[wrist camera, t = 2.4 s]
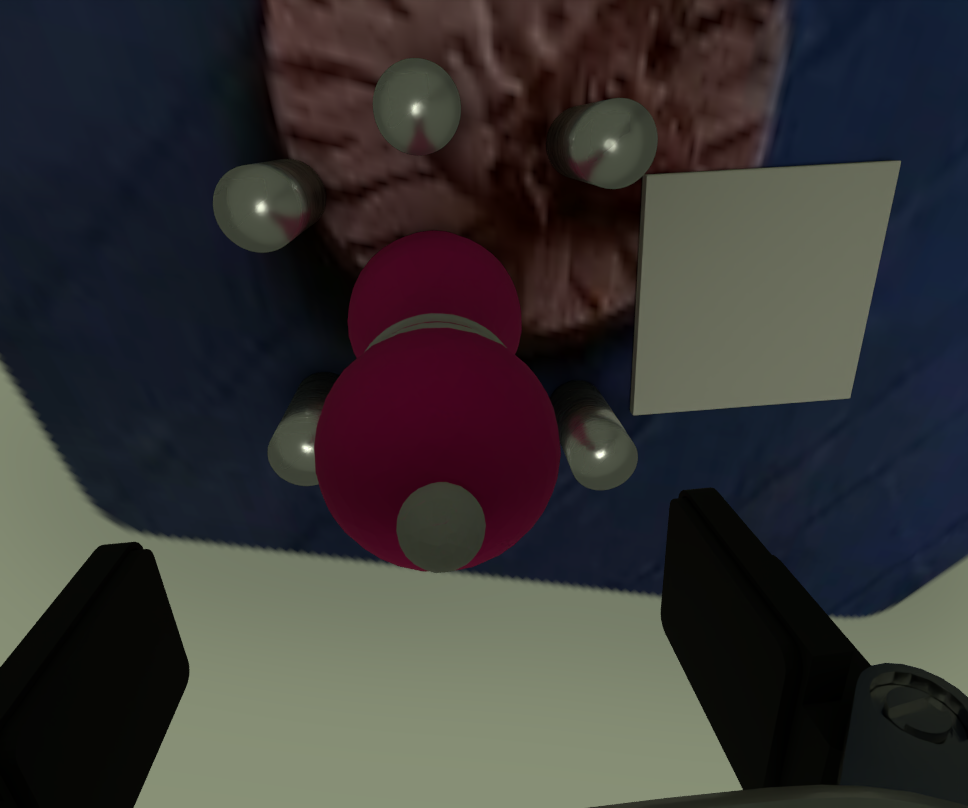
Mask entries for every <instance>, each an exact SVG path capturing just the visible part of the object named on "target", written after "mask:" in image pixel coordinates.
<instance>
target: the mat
mask: <svg viewBox="0 0 968 808" xmlns="http://www.w3.org/2000/svg"><path fill="white" fill-rule="evenodd" d="M900 164H901V161H875V162H858V163H840V164H823V165H805V166H788V167H771V168H753V169H736V170H718V171H701V172H684V173H666V174H649V175H643V181H642V199H641V217H640V235H639V254H638V272H637V290H636V308H635V327H634V345H633V363H632V381H631V400H630V412H631V413H632V414H633V415H644V414H657V413H670V412H682V411H695V410H708V409H720V408H733V407H745V406H758V405H771V404H783V403H796V402H809V401H821V400H834V399H847V398H850V396H851V391H852V387H853V382H854V378H855V373H856V368H857V364H858V359H859V354H860V350H861V345H862V340H863V336H864V331H865V327H866V322H867V317H868V313H869V308H870V303H871V299H872V294H873V289H874V285H875V280H876V276H877V271H878V266H879V262H880V257H881V252H882V248H883V243H884V239H885V234H886V229H887V225H888V220H889V215H890V211H891V206H892V201H893V197H894V192H895V188H896V183H897V178H898V174H899V169H900Z"/></svg>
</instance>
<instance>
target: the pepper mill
mask: <svg viewBox="0 0 968 808" xmlns="http://www.w3.org/2000/svg"><path fill="white" fill-rule="evenodd" d="M348 329H349V338H350V341H351V344H352V348H353V351H354V354H355V355H356V357H357V359H356V360H355V361H354V362H352V363H351V364H350V365H349V366H348V367H347V368H345V369H344V371H343V372H342V373H341V375H340V376H339V378H338V379H337V380H336V382H335V383H334V385H333V387H332V388H331V390H330V392H329V394H328V395H327V397H326V399H325V402H324V405H323V408H322V411H321V415H320V418H319V421H318V424H317V428H316V436H315V444H314V454H315V471H316V475H317V479H318V482H319V486H320V489H321V492H322V495H323V497H324V500H325V502H326V505H327V507H328V508H329V510H330V512H331V514H332V516H333V517H334V519H335V520H336V521H337V522H338V524H339V525H340V526H341V527H342V529H343V530H344V531H345V532H346V533H347V534H348V535H349V536H350V537H351V538H353V539H354V540H355V541H356V542H357V543H358V544H360V545H361V546H362V547H363V548H364V549H366V550H368V551H369V552H371V553H373V554H374V555H376V556H377V557H379V558H381V559H383V560H385V561H388V562H390V563H392V564H395V565H397V566H400V567H405V568H410V569H414V570H419V571H431V572H434V573H441V572H450V571H455V570H459V569H464V568H468V567H473V566H476V565H478V564H480V563H483V562H485V561H487V560H489V559H492V558H494V557H496V556H498V555H500V554H502V553H503V552H504V551H506V550H507V549H509V548H510V547H512V546H513V545H514V544H515V543H517V542H518V541H519V540H520V539H521V538H522V537H523V536H524V535H525V534H526V533H527V532H528V531H529V530H530V529H531V528H532V527H533V526H534V524H535V523H536V521H537V520H538V519H539V517H540V516H541V514H542V513H543V511H544V510H545V508H546V506H547V503H548V501H549V499H550V497H551V495H552V492H553V489H554V486H555V484H556V481H557V476H558V469H559V462H560V455H561V452H560V441H559V432H558V426H557V421H556V417H555V412H554V408H553V406H552V404H551V401H550V399H549V397H548V394H547V392H546V391H545V389H544V388H543V386H542V384H541V383H540V381H539V380H538V378H537V377H536V375H535V374H534V373H533V372H532V371H531V369H530V368H529V367H528V366H527V365H526V364H525V363H524V362H523V361H522V360H520V359H519V358H518V357H517V356H516V355H515V353H516V351H517V348H518V346H519V341H520V336H521V331H522V328H521V308H520V303H519V299H518V295H517V292H516V288H515V286H514V284H513V281H512V279H511V277H510V275H509V274H508V272H507V271H506V269H505V268H504V266H503V265H502V264H501V263H500V261H499V260H498V259H497V258H496V257H495V256H494V255H493V254H492V253H490V252H489V251H488V250H486V249H485V248H484V247H482V246H481V245H479V244H477V243H475V242H474V241H472V240H470V239H467V238H464V237H461V236H459V235H456V234H453V233H450V232H446V231H434V230H431V231H423V232H417V233H414V234H411V235H408V236H405V237H403V238H400V239H398V240H396V241H394V242H392V243H390V244H389V245H387V246H386V247H384V248H382V249H381V250H380V251H379V252H378V253H377V254H376V255H374V256H373V257H372V258H371V259H370V261H369V262H368V263H367V264H366V266H365V267H364V268H363V270H362V271H361V272H360V274H359V277H358V279H357V281H356V283H355V285H354V287H353V291H352V295H351V299H350V304H349V313H348Z"/></svg>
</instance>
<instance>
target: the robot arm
mask: <svg viewBox="0 0 968 808" xmlns="http://www.w3.org/2000/svg"><path fill="white" fill-rule="evenodd" d="M661 621H662V625H663V629H664V631H665V634H666V636H667V638H668V640H669V642H670V644H671V646H672V648H673V650H674V652H675V654H676V656H677V658H678V660H679V662H680V664H681V666H682V668H683V670H684V672H685V674H686V676H687V678H688V680H689V682H690V684H691V686H692V688H693V690H694V692H695V694H696V696H697V698H698V700H699V702H700V704H701V706H702V708H703V710H704V712H705V714H706V716H707V718H708V720H709V722H710V724H711V726H712V728H713V730H714V732H715V734H716V736H717V738H718V740H719V742H720V744H721V746H722V748H723V750H724V752H725V754H726V756H727V758H728V760H729V762H730V764H731V766H732V768H733V770H734V772H735V774H736V776H737V778H738V780H739V782H740V784H741V786H742V788H743V790H740V791H731V792H720V793H711V794H701V795H692V796H682V797H673V798H664V799H655V800H647V801H639V802H631V803H623V804H615V805H606V806H598V807H590V808H968V697H967V696H966V695H964V694H963V693H962V692H961V691H960V690H959V689H958V688H956V687H955V686H953V685H951V684H950V683H948V682H947V681H945V680H944V679H942V678H940V677H938V676H935V675H933V674H931V673H929V672H926V671H924V670H922V669H919V668H915V667H911V666H907V665H904V664H892V663H883V664H878V665H873V666H871V665H870V664H869V663H868V661H867V660H866V659H865V658H864V657H863V656H862V655H861V654H860V652H859V651H858V650H857V649H856V648H855V646H854V645H853V644H852V643H851V642H850V641H849V639H848V638H847V637H846V636H845V635H844V634H843V633H842V632H841V630H840V629H839V628H838V627H837V626H836V624H835V623H834V622H833V621H832V620H831V619H830V617H829V616H828V615H827V614H826V613H825V612H824V610H823V609H822V608H821V607H820V606H819V605H818V604H817V602H816V601H815V600H814V599H813V598H812V597H811V595H810V594H809V593H808V592H807V591H806V590H805V588H804V587H803V586H802V585H801V584H800V583H799V581H798V580H797V579H796V578H795V577H794V576H793V575H792V573H791V572H790V571H789V570H788V569H787V568H786V566H785V565H784V564H783V563H782V562H781V561H780V560H779V559H778V558H777V557H776V556H774V555H771V553H770V552H769V551H768V550H767V549H766V548H765V546H764V545H763V544H762V543H761V542H760V541H759V539H758V538H757V537H756V536H755V535H754V534H753V532H752V531H751V530H750V529H749V528H748V527H747V525H746V524H745V523H744V522H743V521H742V519H741V518H740V517H739V516H738V515H737V514H736V512H735V511H734V510H733V509H732V508H731V507H730V505H729V504H728V503H727V502H726V501H725V500H724V498H723V497H722V496H721V495H720V494H719V493H718V491H717V490H715V489H714V488H701V489H691V490H683V491H681V492H680V494H679V498H678V499H673V500H671V502H670V508H669V520H668V532H667V543H666V555H665V567H664V579H663V591H662V602H661ZM188 678H189V663H188V659H187V656H186V653H185V650H184V647H183V644H182V641H181V638H180V634H179V631H178V628H177V625H176V622H175V619H174V616H173V613H172V610H171V607H170V604H169V601H168V598H167V594H166V591H165V588H164V585H163V582H162V579H161V576H160V573H159V570H158V567H157V564H156V560H155V557H154V555H153V553H152V552H151V550H149V549H143V547H142V546H141V545H140V544H139V543H137V542H128V543H118V544H108V545H101V546H99V547H98V548H97V549H96V550H95V551H94V552H93V553H92V554H91V556H90V557H89V558H88V559H87V561H86V562H85V563H84V564H83V566H82V567H81V568H80V569H79V571H78V572H77V573H76V574H75V575H74V577H73V578H72V579H71V580H70V582H69V583H68V584H67V585H66V587H65V588H64V589H63V590H62V592H61V593H60V594H59V595H58V597H57V598H56V599H55V600H54V602H53V603H52V604H51V605H50V607H49V608H48V609H47V610H46V612H45V613H44V614H43V615H42V616H41V618H40V619H39V620H38V621H37V622H36V624H35V625H34V626H33V628H32V629H31V630H30V631H29V632H28V634H27V635H26V636H25V637H24V639H23V640H22V641H21V642H20V644H19V645H18V646H17V647H16V648H15V650H14V651H13V652H12V653H11V655H10V656H9V657H8V658H7V660H6V661H5V662H4V663H3V665H2V666H1V667H0V808H133V807H134V805H135V803H136V801H137V798H138V796H139V794H140V792H141V789H142V787H143V785H144V782H145V780H146V778H147V776H148V773H149V771H150V768H151V766H152V764H153V762H154V759H155V757H156V755H157V753H158V750H159V748H160V746H161V743H162V741H163V739H164V737H165V734H166V732H167V729H168V727H169V725H170V723H171V720H172V718H173V716H174V714H175V711H176V709H177V707H178V704H179V702H180V700H181V697H182V695H183V693H184V690H185V688H186V686H187V683H188Z"/></svg>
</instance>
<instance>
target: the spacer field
mask: <svg viewBox="0 0 968 808" xmlns="http://www.w3.org/2000/svg"><path fill="white" fill-rule="evenodd" d="M373 112H374V118H375V121H376V124H377V126H378V129H379V130H380V132H381V134H382V135H383V137H384V138H385V139H386V140H387V141H388V142H389V143H390V144H391V145H392V146H393V147H395V148H396V149H398V150H399V151H402V152H404V153H407V154H410V155H428V154H431V153H434V152H436V151H438V150H440V149H441V148H443V147H444V146H445V145H446V144H447V143H448V142H449V141H450V140H451V139H452V137H453V136H454V134H455V132H456V130H457V128H458V125H459V121H460V115H461V103H460V97H459V93H458V90H457V87H456V85H455V84H454V82H453V80H452V79H451V77H450V76H449V75H448V73H447V72H446V71H445V70H444V69H442V68H441V67H440V66H438V65H437V64H435V63H433V62H431V61H429V60H426V59H420V58H409V59H404V60H401V61H399V62H397V63H395V64H393V65H392V66H390V67H389V68H388V69H387V70H386V71H385V72H384V73H383V75H382V76H381V78H380V79H379V81H378V83H377V85H376V88H375V91H374V96H373ZM657 141H658V136H657V129H656V125H655V123H654V120H653V118H652V116H651V115H650V113H649V112H648V111H647V110H646V109H645V108H644V107H643V106H642V105H641V104H639V103H637V102H635V101H633V100H630V99H626V98H614V99H609V100H604V101H599V102H594V103H589V104H584V105H580V106H575V107H571V108H569V109H567V110H565V111H563V112H562V113H561V114H559V115H558V116H557V117H556V119H555V120H554V121H553V123H552V124H551V126H550V128H549V131H548V134H547V139H546V150H547V155H548V158H549V160H550V162H551V164H552V166H553V167H554V168H555V169H556V170H557V171H558V172H559V173H561V174H562V175H564V176H566V177H569V178H573V179H576V180H579V181H583V182H586V183H589V184H593V185H596V186H599V187H603V188H607V189H618V188H623V187H626V186H629V185H631V184H632V183H634V182H636V181H637V180H638V179H640V178H641V177H642V176H643V175H644V174H645V173H646V171H647V170H648V169H649V167H650V165H651V164H652V162H653V159H654V157H655V154H656V150H657ZM325 205H326V192H325V188H324V185H323V182H322V180H321V179H320V177H319V175H318V174H317V173H316V172H315V171H314V170H313V169H312V168H311V167H310V166H308V165H307V164H305V163H303V162H301V161H298V160H294V159H281V160H275V161H268V162H262V163H256V164H249V165H243V166H239V167H236V168H234V169H232V170H230V171H229V172H227V173H226V174H225V175H224V176H223V177H222V178H221V179H220V181H219V182H218V184H217V186H216V189H215V192H214V196H213V209H214V214H215V218H216V220H217V222H218V225H219V226H220V228H221V230H222V231H223V232H224V234H225V235H226V236H227V237H228V238H229V239H230V240H231V241H232V242H234V243H235V244H237V245H238V246H240V247H242V248H244V249H246V250H249V251H253V252H271V251H275V250H278V249H280V248H282V247H283V246H285V245H286V244H288V243H289V242H290V241H292V240H293V239H294V238H296V237H297V236H298V235H300V234H301V233H302V232H304V231H305V230H306V229H308V228H309V227H310V226H312V225H313V224H314V223H315V222H317V220H318V219H319V218H320V217H321V215H322V213H323V211H324V209H325ZM338 378H339V375H336V374H333V373H328V372H320V373H315V374H312V375H310V376H308V377H307V378H306V379H304V380H303V381H302V383H301V384H300V386H299V387H298V389H297V391H296V393H295V395H294V397H293V399H292V401H291V403H290V405H289V406H288V408H287V410H286V412H285V414H284V416H283V418H282V420H281V422H280V424H279V425H278V427H277V429H276V431H275V433H274V435H273V437H272V439H271V441H270V443H269V446H268V459H269V462H270V465H271V467H272V468H273V470H274V471H275V472H276V473H277V474H278V475H279V476H280V477H281V478H283V479H284V480H286V481H288V482H290V483H293V484H296V485H301V486H312V485H317V484H319V482H318V479H317V475H316V471H315V454H314V444H315V436H316V428H317V424H318V421H319V418H320V415H321V411H322V408H323V405H324V402H325V399H326V397H327V395H328V394H329V392H330V390H331V388H332V387H333V385H334V383H335V382H336V380H337V379H338ZM550 401H551V404H552V406H553V408H554V412H555V417H556V421H557V426H558V432H559V441H560V443H561V446H562V448H563V451H564V453H565V455H566V458H567V460H568V462H569V465H570V467H571V470H572V472H573V474H574V476H575V478H576V479H577V481H578V482H579V483H581V484H582V485H583V486H585V487H587V488H590V489H594V490H607V489H611V488H614V487H617V486H619V485H620V484H622V483H624V482H625V481H626V480H627V479H628V478H629V477H630V476H631V475H632V473H633V472H634V470H635V468H636V465H637V460H638V454H637V449H636V447H635V445H634V443H633V442H632V440H631V439H630V437H629V436H628V434H627V433H626V431H625V430H624V428H623V426H622V425H621V423H620V422H619V420H618V419H617V417H616V416H615V414H614V413H613V411H612V410H611V408H610V407H609V405H608V404H607V402H606V401H605V399H604V398H603V396H602V395H601V393H600V392H599V390H598V389H597V388H596V387H595V386H594V385H592V384H590V383H588V382H585V381H571V382H567V383H565V384H563V385H561V386H560V387H558V388H557V389H556V390H555V391H554V392H553V394H552V395H551V397H550Z"/></svg>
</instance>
